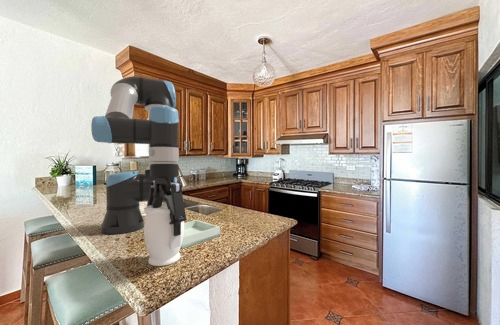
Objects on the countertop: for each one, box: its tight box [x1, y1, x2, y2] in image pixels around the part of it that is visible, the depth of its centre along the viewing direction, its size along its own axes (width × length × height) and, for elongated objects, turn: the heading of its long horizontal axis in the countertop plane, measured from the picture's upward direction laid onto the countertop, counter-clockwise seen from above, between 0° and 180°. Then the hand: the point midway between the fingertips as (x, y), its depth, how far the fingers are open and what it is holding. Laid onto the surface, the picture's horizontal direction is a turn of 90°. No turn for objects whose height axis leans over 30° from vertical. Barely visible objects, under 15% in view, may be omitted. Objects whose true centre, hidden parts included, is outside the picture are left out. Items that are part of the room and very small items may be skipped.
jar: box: [143, 202, 185, 267], centre depth 61 cm, size 11×10×15 cm
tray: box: [180, 219, 221, 250], centre depth 79 cm, size 14×15×4 cm
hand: (164, 242), depth 61 cm, fingers closed on jar, 10 cm apart
